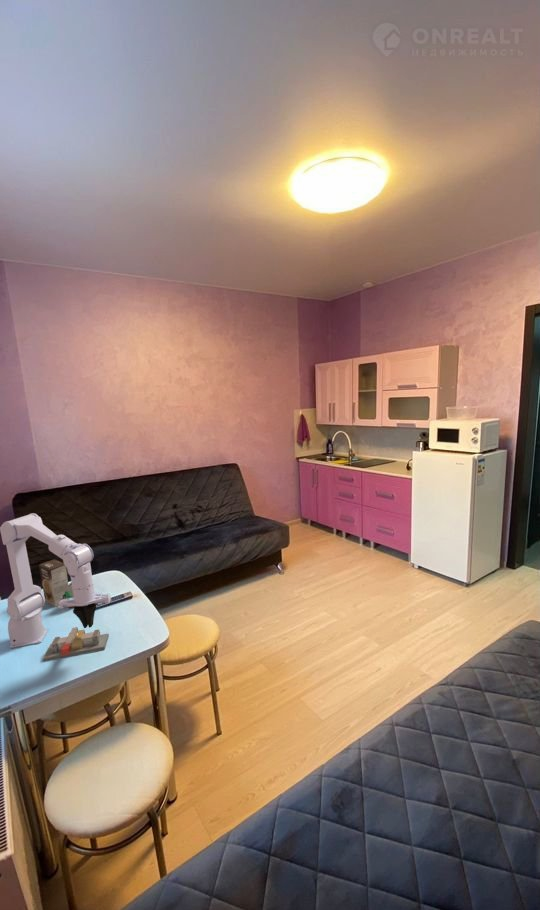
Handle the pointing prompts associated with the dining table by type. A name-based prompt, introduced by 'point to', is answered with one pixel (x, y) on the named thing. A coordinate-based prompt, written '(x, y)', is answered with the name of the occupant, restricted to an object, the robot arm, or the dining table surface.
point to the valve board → (85, 649)
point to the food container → (68, 592)
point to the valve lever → (69, 641)
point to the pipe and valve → (77, 640)
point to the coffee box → (53, 581)
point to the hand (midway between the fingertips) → (88, 625)
